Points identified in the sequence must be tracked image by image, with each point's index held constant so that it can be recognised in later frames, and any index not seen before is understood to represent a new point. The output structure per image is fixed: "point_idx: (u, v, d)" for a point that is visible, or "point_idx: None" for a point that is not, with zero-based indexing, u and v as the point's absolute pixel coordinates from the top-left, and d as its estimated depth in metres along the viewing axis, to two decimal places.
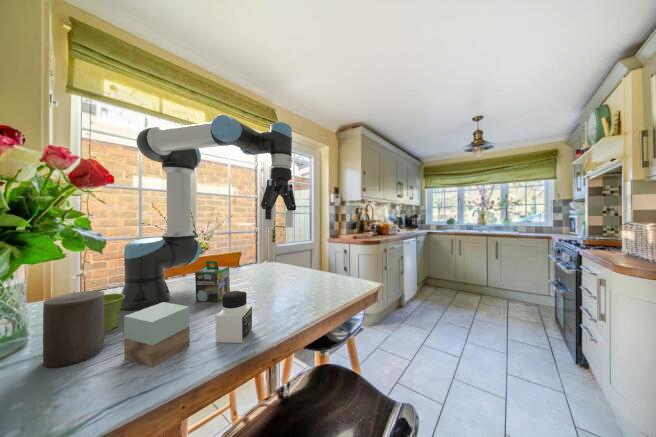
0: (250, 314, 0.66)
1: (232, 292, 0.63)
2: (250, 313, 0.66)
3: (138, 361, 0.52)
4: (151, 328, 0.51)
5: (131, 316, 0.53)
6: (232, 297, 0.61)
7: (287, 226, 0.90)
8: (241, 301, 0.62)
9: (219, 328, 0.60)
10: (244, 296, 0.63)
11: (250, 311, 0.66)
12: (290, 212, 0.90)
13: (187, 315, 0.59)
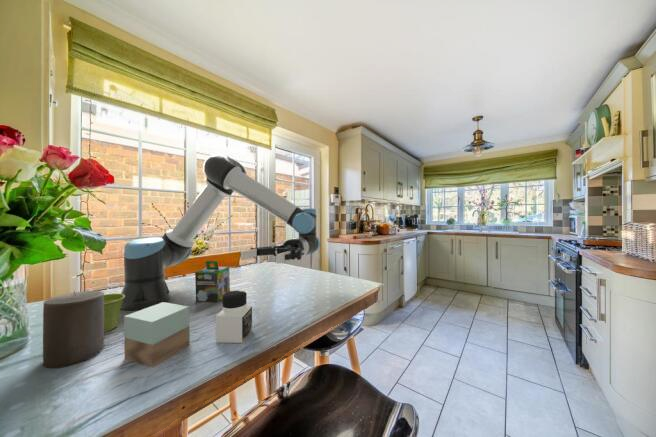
0: (250, 314, 0.66)
1: (232, 292, 0.63)
2: (250, 313, 0.66)
3: (138, 361, 0.52)
4: (151, 328, 0.51)
5: (131, 315, 0.54)
6: (232, 297, 0.61)
7: (243, 254, 0.75)
8: (241, 301, 0.62)
9: (219, 328, 0.60)
10: (244, 296, 0.63)
11: (250, 311, 0.66)
12: (255, 255, 0.80)
13: (187, 315, 0.59)
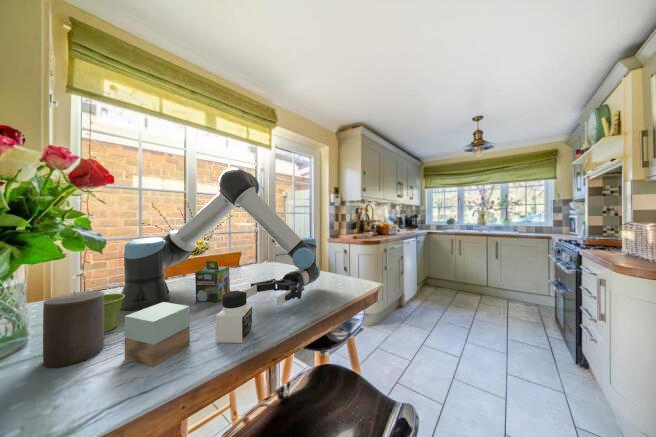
0: (250, 314, 0.66)
1: (232, 292, 0.63)
2: (250, 313, 0.66)
3: (138, 361, 0.52)
4: (152, 328, 0.51)
5: (132, 315, 0.54)
6: (232, 297, 0.61)
7: None
8: (241, 301, 0.62)
9: (219, 328, 0.60)
10: (244, 296, 0.63)
11: (250, 311, 0.66)
12: (255, 292, 0.80)
13: (188, 315, 0.59)
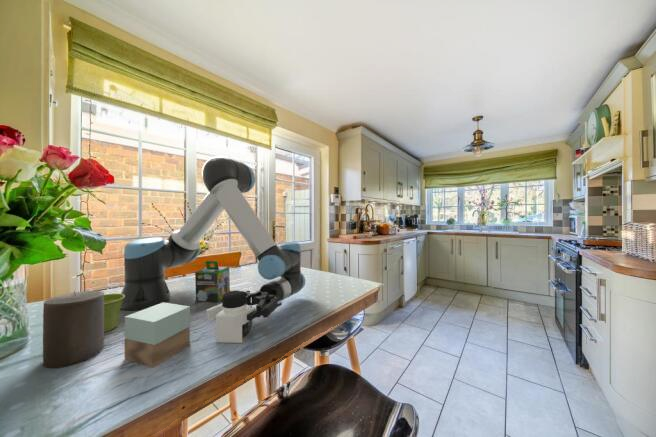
0: None
1: (231, 292, 0.63)
2: None
3: (138, 361, 0.52)
4: (153, 328, 0.51)
5: (132, 316, 0.53)
6: (232, 297, 0.61)
7: (209, 313, 0.62)
8: (241, 300, 0.62)
9: (219, 328, 0.60)
10: (244, 296, 0.63)
11: None
12: None
13: (188, 315, 0.59)
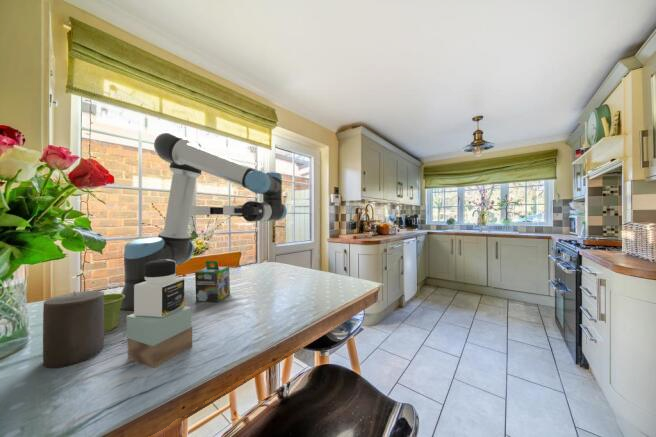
0: (180, 287, 0.58)
1: (157, 260, 0.56)
2: (180, 286, 0.58)
3: (141, 361, 0.52)
4: (151, 329, 0.50)
5: (133, 316, 0.53)
6: (153, 265, 0.53)
7: (192, 208, 0.71)
8: (164, 269, 0.54)
9: (137, 300, 0.53)
10: (170, 265, 0.55)
11: (180, 284, 0.58)
12: (208, 212, 0.76)
13: (189, 316, 0.58)
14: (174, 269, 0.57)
